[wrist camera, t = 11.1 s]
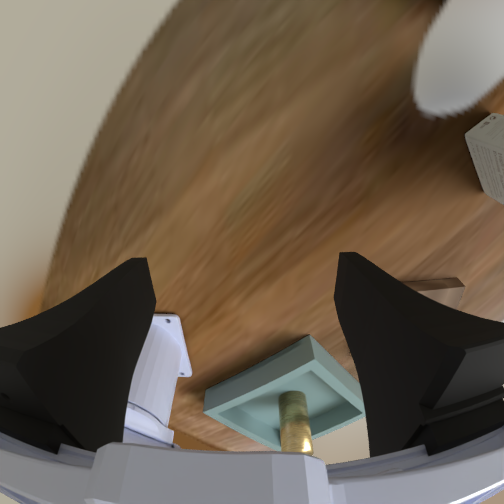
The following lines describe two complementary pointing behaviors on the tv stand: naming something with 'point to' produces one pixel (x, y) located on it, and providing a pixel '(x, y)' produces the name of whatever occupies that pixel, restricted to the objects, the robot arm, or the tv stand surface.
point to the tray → (283, 380)
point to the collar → (440, 290)
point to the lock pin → (294, 423)
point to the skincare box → (489, 154)
